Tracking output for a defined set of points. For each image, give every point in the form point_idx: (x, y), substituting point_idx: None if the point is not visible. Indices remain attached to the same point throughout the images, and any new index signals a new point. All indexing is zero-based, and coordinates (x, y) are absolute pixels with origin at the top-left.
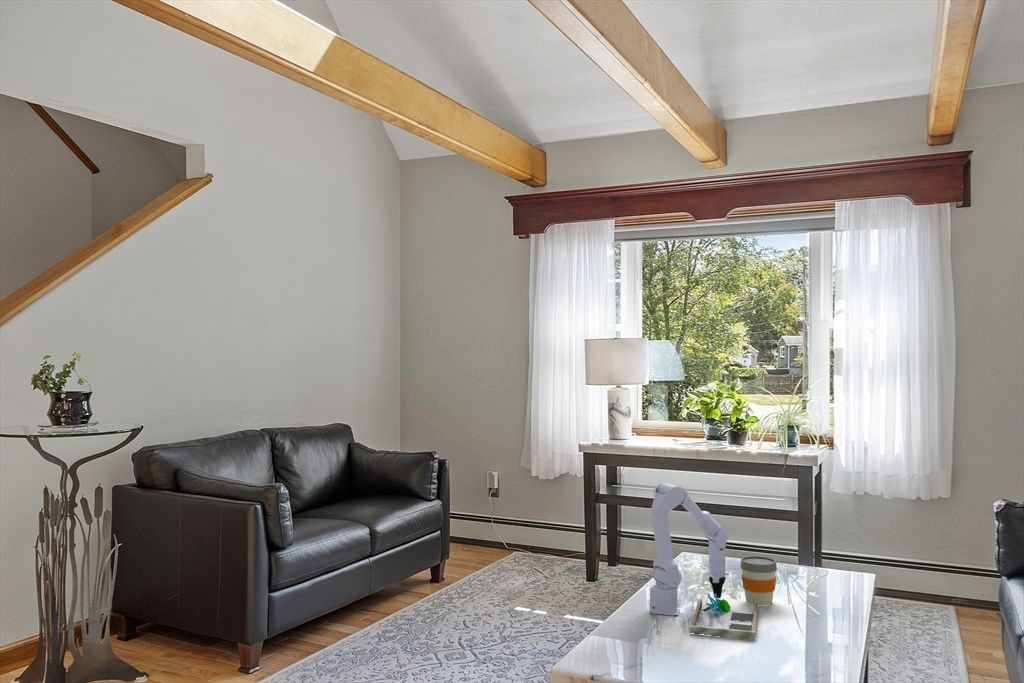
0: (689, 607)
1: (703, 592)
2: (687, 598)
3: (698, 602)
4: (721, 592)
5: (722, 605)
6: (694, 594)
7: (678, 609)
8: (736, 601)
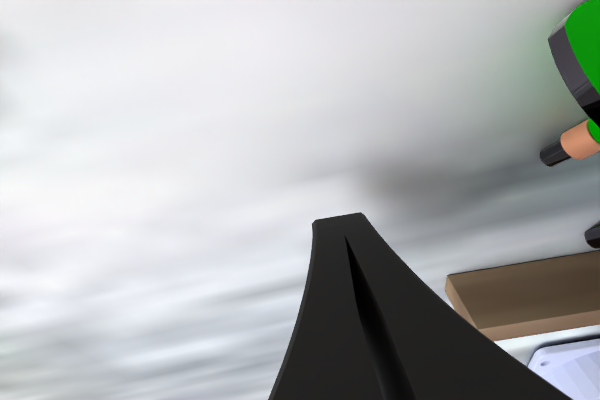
0: None
1: (60, 353)
2: None
3: (583, 324)
4: (403, 263)
5: None
6: (161, 373)
7: (582, 351)
8: (89, 12)
